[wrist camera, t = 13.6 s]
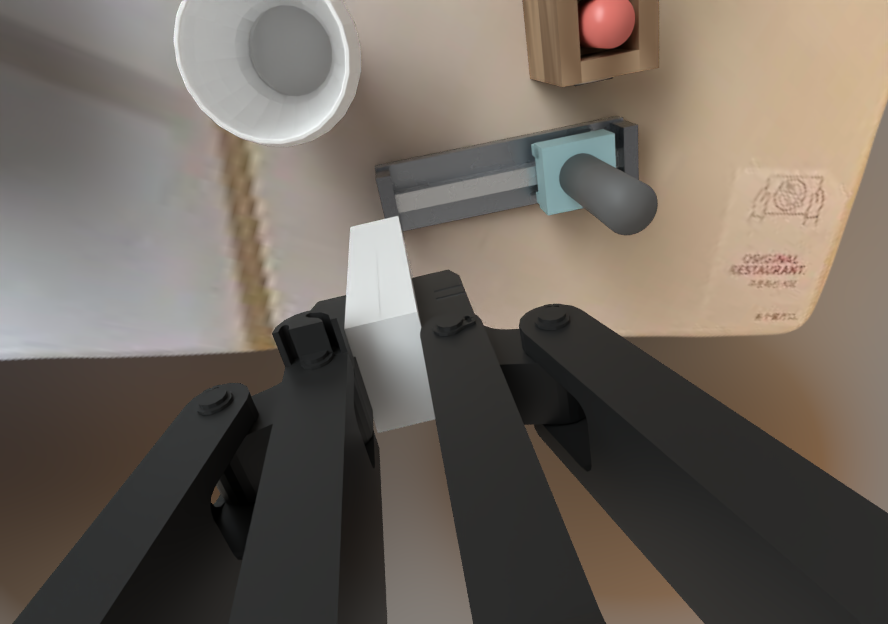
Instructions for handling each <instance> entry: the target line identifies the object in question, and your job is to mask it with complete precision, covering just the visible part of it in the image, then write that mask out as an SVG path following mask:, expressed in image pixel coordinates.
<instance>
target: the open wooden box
mask: <svg viewBox="0 0 888 624" xmlns="http://www.w3.org/2000/svg"><path fill="white" fill-rule="evenodd" d="M581 1H583V0H523V10H524V21H525V31H526V41H527V51H528V62H529V72H530V79H534V80H537V81H541V82H545V83H549V84H553V85H556V86H560V87H566V86H571V85H574V86H577V85H582V84H587V83H592V82H597V81H602V80H607V79H612V78H613V77H615V76H620V75H625V74H630V73H634V72H639V71H644V70H649V69H654V68H659V0H629V1H630V3H631V4H632V6H633V9H634V12H635V24H634V28H633V30H632V33H631V35H630V36H629V38H628V39H627V40H626V41H625V42H624V43H623V44H621V45H620V46H618V47H615V48H610V49H609V48H587V47H581V46H580V41H579V23H578V6H577V4H578V3H579V2H581Z"/></svg>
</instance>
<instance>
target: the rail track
mask: <svg viewBox="0 0 888 624" xmlns="http://www.w3.org/2000/svg"><path fill="white" fill-rule="evenodd" d="M600 129H605V130H607V131H610V132H612V133H615V155H616V168H617V169H619V170H621V171H622V172H624V173H626V174H628V175H630V176H632V177H634V178H636V179H637V180H639V171H638V125H637V124H634V123H631V122H628V121H625V120H623V117H620V116H614V117H609V118H604V119H600V120H595V121H590V122H585V123H580V124H575V125H570V126H566V127H561V128H556V129H551V130H546V131H541V132H536V133H531V134H527V135H522V136H517V137H512V138H507V139H502V140H497V141H493V142H488V143H483V144H478V145H473V146H468V147H463V148H458V149H454V150H449V151H444V152H439V153H434V154H429V155H424V156H420V157H415V158H410V159H405V160H400V161H395V162H390V163H386V164H381V165H376V166H375V173H376V182H377V187H378V191H379V195H380V199H381V204H382V208H383V212H384V216H385V219H387V218H391V217H395V216H398V217H399V221H400V225H401V229H402V233H403V231H407V230H412V229H416V228H421V227H426V226H431V225H436V224H440V223H445V222H450V221H455V220H459V219H464V218H469V217H474V216H479V215H483V214H488V213H493V212H498V211H503V210H507V209H512V208H517V207H522V206H527V205H531V204H536V203H538V202H537V197H536V192H538V182H537V172H536V162H535V157H534V156H533V155H532V148H531V144H534V143H537V142H542V141H547V140H552V139H557V138H561V137H566V136H571V135H576V134H581V133H586V132H591V131H595V130H600ZM403 237H404V235H403Z"/></svg>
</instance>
